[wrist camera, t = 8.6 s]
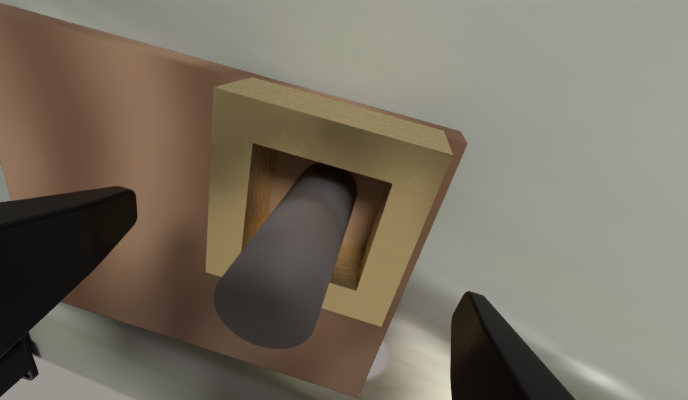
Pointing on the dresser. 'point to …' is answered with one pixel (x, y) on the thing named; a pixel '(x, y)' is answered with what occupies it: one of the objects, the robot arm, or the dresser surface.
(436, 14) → the dresser surface
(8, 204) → the robot arm
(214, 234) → the wooden square frame
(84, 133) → the keeper board
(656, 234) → the dresser surface
